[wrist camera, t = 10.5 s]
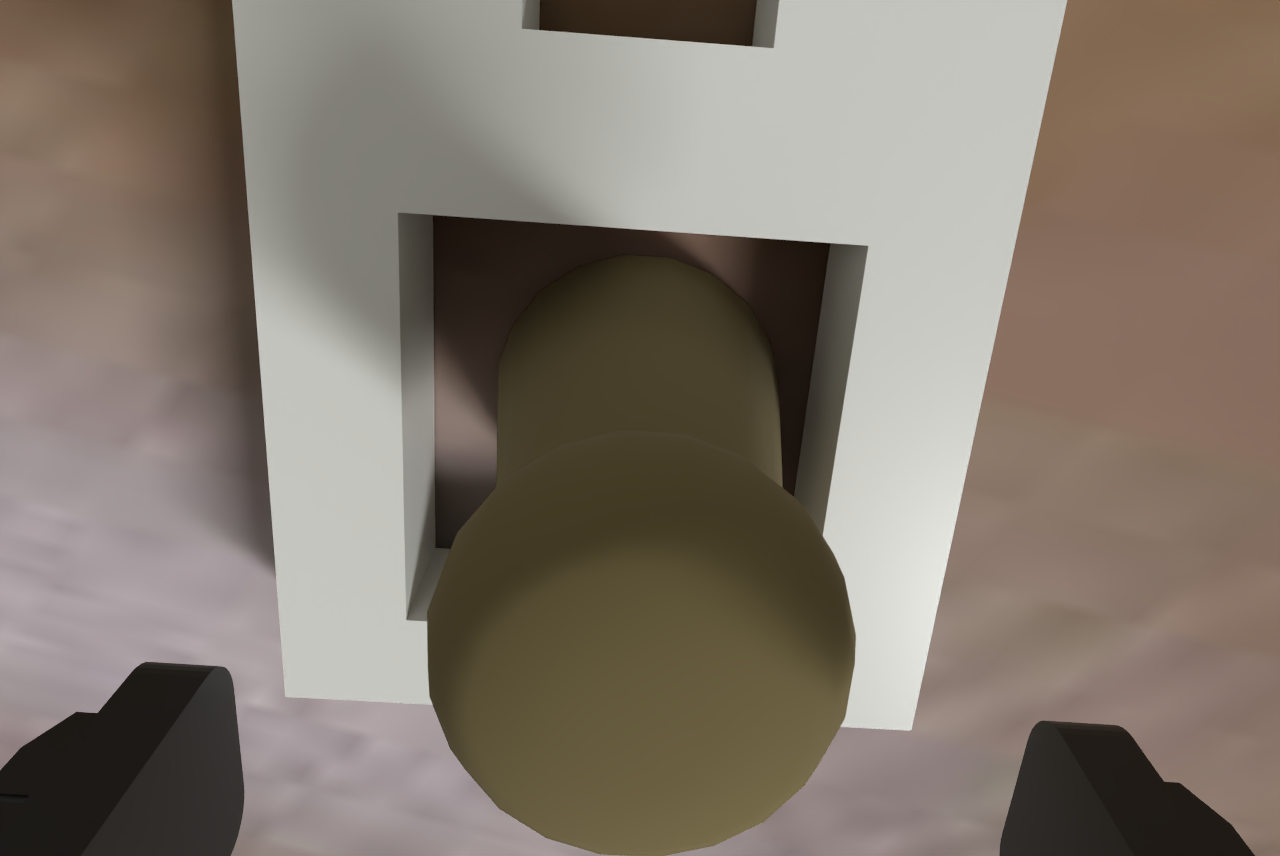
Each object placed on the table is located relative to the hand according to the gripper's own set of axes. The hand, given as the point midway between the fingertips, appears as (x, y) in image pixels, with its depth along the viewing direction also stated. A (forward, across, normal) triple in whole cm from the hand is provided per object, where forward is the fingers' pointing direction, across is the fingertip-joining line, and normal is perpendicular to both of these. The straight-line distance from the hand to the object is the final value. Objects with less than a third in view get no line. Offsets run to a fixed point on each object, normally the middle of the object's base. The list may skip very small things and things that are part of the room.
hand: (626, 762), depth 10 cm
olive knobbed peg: (+12, 0, 0) cm, 12 cm away
